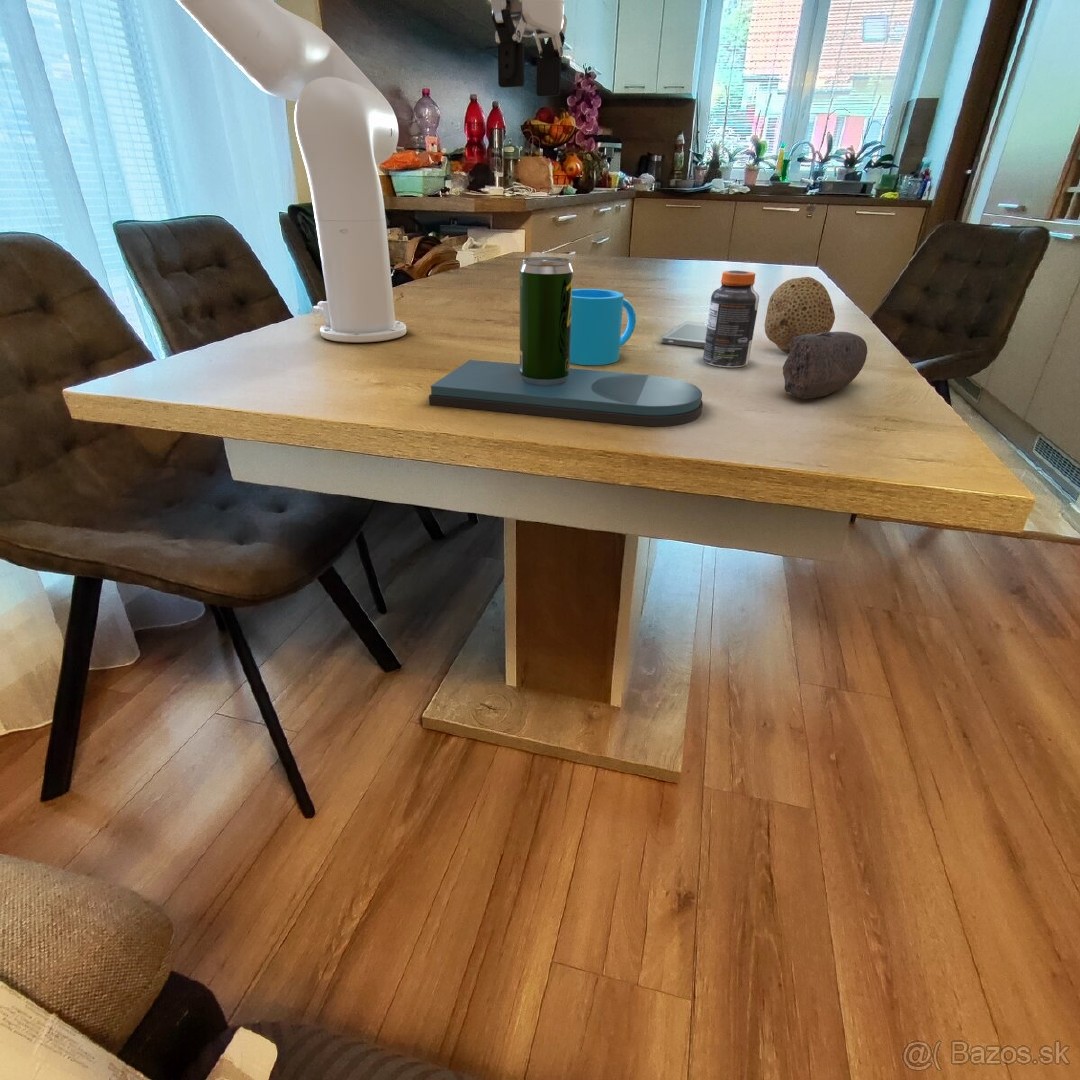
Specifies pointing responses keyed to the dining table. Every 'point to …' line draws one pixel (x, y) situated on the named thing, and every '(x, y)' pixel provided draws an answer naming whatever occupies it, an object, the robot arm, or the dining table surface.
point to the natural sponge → (798, 311)
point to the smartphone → (687, 334)
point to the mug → (598, 326)
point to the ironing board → (571, 395)
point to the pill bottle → (731, 320)
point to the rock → (823, 363)
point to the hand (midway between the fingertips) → (530, 91)
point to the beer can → (545, 320)
